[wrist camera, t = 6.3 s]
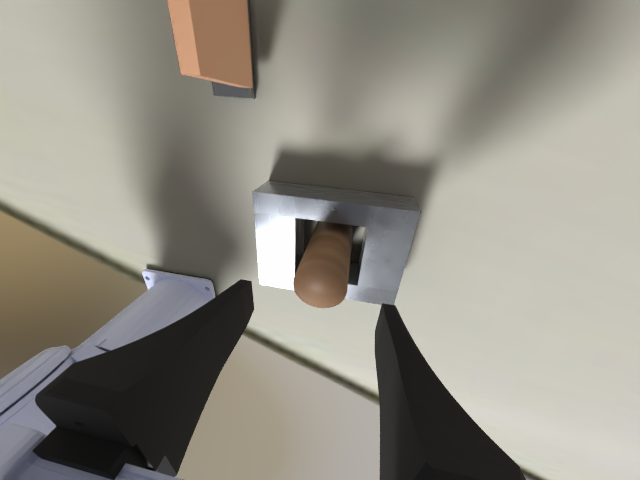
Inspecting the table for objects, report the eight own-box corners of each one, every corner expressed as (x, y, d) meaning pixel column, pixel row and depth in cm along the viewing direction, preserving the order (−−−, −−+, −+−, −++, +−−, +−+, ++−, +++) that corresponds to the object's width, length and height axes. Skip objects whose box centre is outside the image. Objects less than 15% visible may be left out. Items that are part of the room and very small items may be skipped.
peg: (350, 251, 20) (344, 311, 14) (314, 247, 21) (293, 303, 15) (354, 217, 19) (350, 268, 13) (315, 213, 19) (292, 261, 13)
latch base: (255, 98, 16) (248, 97, 15) (222, 96, 16) (213, 95, 15) (248, -3, 13) (240, -12, 13) (210, -4, 14) (199, -12, 13)
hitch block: (389, 282, 21) (393, 306, 18) (272, 264, 22) (259, 284, 20) (412, 196, 17) (420, 211, 15) (268, 180, 18) (252, 191, 16)
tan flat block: (252, 88, 14) (200, 75, 9) (239, 87, 14) (181, 74, 9) (246, -4, 12) (176, -81, 7) (232, -4, 12) (152, -81, 7)
